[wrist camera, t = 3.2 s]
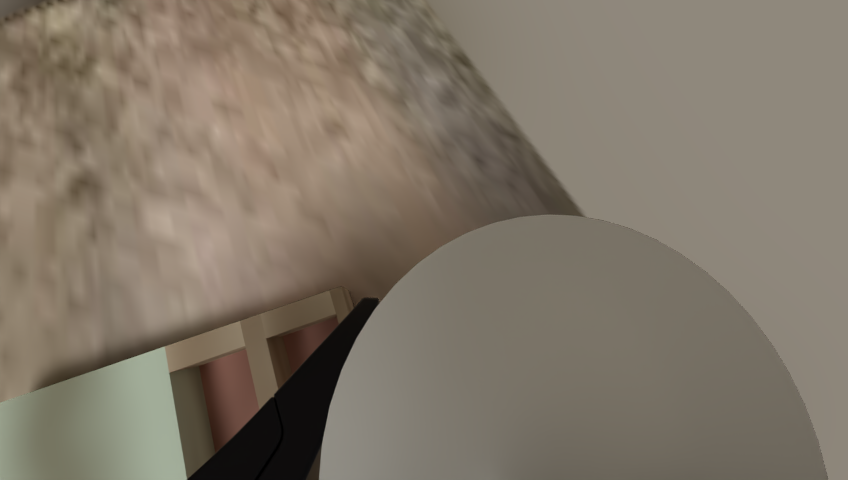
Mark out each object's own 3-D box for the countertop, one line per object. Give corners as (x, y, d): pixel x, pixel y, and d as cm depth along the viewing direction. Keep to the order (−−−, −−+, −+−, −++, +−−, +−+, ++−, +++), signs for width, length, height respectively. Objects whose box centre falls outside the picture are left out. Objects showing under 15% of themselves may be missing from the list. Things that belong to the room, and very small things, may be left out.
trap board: (348, 290, 15) (341, 286, 13) (403, 470, 13) (403, 495, 11) (25, 402, 13) (-41, 416, 11) (41, 630, 11) (-33, 694, 9)
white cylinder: (464, 429, 14) (788, 991, 2) (364, 375, 14) (198, 626, 3) (508, 325, 15) (861, 341, 4) (416, 277, 15) (462, 143, 4)
